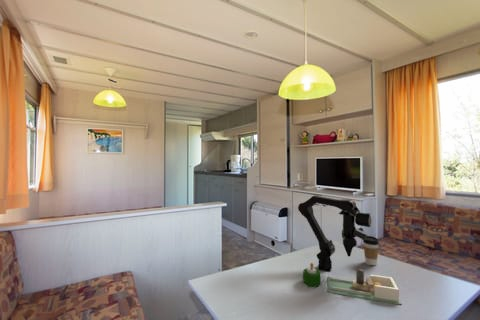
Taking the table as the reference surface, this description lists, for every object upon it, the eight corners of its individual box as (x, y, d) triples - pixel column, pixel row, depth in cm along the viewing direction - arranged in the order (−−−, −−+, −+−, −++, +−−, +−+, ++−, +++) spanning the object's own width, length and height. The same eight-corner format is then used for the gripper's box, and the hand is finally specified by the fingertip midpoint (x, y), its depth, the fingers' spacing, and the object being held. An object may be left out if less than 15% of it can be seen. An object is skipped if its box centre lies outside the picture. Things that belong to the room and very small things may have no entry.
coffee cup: (375, 260, 146) (375, 236, 146) (381, 266, 137) (381, 240, 137) (360, 260, 147) (360, 235, 147) (366, 266, 138) (366, 240, 138)
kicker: (354, 290, 111) (354, 272, 111) (352, 283, 118) (352, 266, 118) (373, 293, 108) (373, 275, 108) (370, 286, 115) (370, 268, 115)
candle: (321, 288, 115) (321, 267, 115) (303, 286, 116) (303, 265, 116) (319, 279, 123) (319, 260, 123) (302, 278, 125) (302, 258, 125)
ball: (384, 287, 108) (381, 295, 109) (382, 283, 112) (379, 290, 112) (375, 283, 110) (371, 291, 110) (373, 279, 113) (370, 286, 114)
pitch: (328, 292, 111) (328, 280, 111) (327, 277, 125) (327, 267, 125) (401, 304, 101) (401, 292, 101) (392, 287, 116) (392, 275, 116)
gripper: (368, 230, 116) (368, 262, 116) (363, 220, 133) (363, 249, 133) (343, 227, 120) (342, 258, 120) (341, 218, 137) (341, 246, 137)
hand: (348, 252), depth 127 cm, fingers open, 9 cm apart
